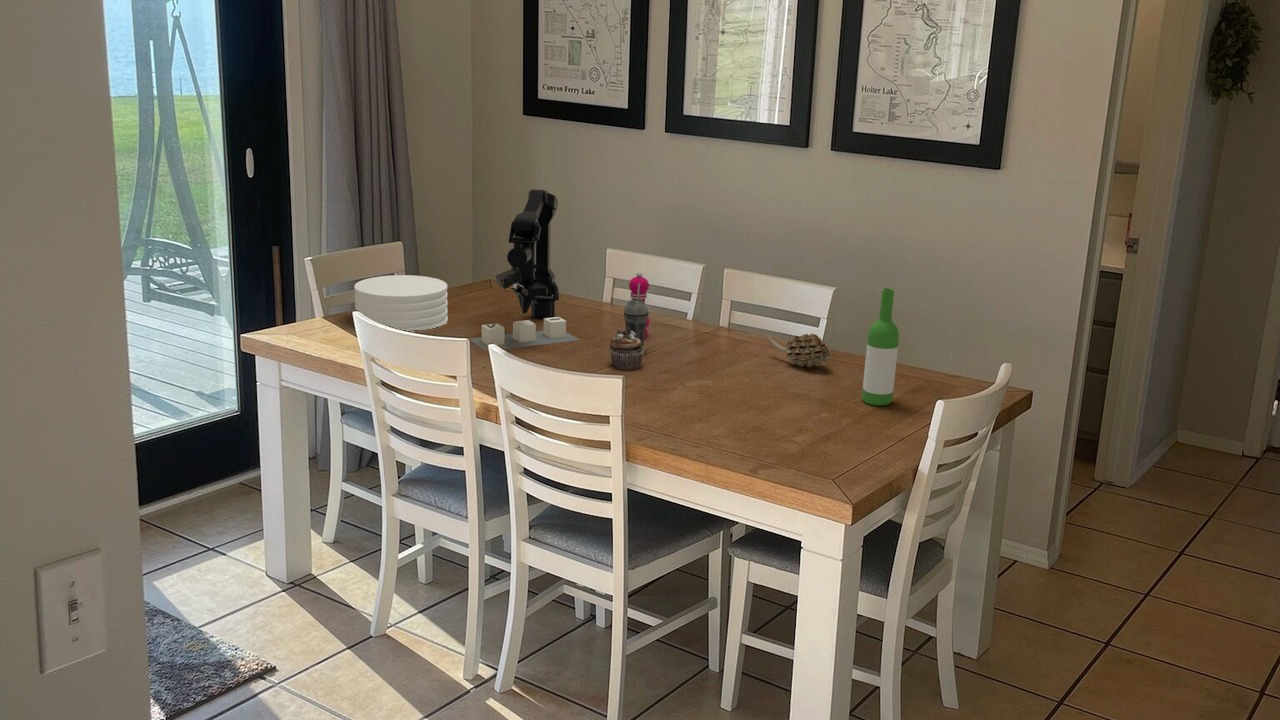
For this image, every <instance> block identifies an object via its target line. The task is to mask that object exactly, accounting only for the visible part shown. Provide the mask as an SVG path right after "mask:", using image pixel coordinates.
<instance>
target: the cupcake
mask: <svg viewBox="0 0 1280 720" xmlns="http://www.w3.org/2000/svg"><path fill="white" fill-rule="evenodd" d="M635 335H636V334H635V332H634V330H629V331H628V332H627V331H626V330H624V331H623V330H620V329H618V330H616V333H615V336H613V337H612V338H611V340H610V345H609V353H610V359H611V363H612V367H614V368H616V369H619V370H625V369H632V370H637V369H639V367H640V368H641V366H642V363H643V357H644V353H645V348H644V346H643V347H642V345H641V341H640V339H638V338H636V337H635ZM636 368H637V369H636Z"/></svg>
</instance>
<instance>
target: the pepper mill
mask: <svg viewBox="0 0 1280 720" xmlns="http://www.w3.org/2000/svg"><path fill="white" fill-rule="evenodd" d="M638 284H640V289H639V299H640V300H642V301H643V302H644V303H645V304H646V299H647V297H648V293H647V292H648V290H649V288H650V283H649V281H648V279H647V278H646V277H643V273H642V272H641V271H638V272H636V276H634V277H632V278H631V279H630V281H629V283H628V287H629V290H630V295H629V297H630V298H631V300H633V299H637V292H638ZM649 317H650V316H648V318H647V321H646V328H645V336H644V339H646V338H648V329H647V328H648V327H649V326H650V318H649Z"/></svg>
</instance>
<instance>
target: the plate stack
mask: <svg viewBox="0 0 1280 720" xmlns="http://www.w3.org/2000/svg"><path fill="white" fill-rule="evenodd" d="M353 287H354V292H355V293H354V300H355V302H354V307H355V310H358V311H360V312H361V313H362V314H363V315H364V316H366V317H368V318H370V319H372V320H374V321H376V322H379V323H381V324H384V325H387V326H391V327H394V328H397V329H401V330H406V331H411V332H410V333H416V332H415V331H413V330H427V329H432V328H436V327H439V326H442V325H444V324H445V325H447V324H448V322H447V321H449V317H448V314H449V313H448V305H449V304H448V297H449V296H448V283H446V281H444V280H441V279H439V278H434V277H432V276H431V277H430V276H424V275H411V274H405V275H404V274H402V275H401V274H396V275H381V276H374V277H370V278H364V279H362V280H359V281H358V282H356V283H355V284H354V286H353ZM445 325H444V326H445ZM442 327H443V326H442ZM439 328H440V327H439ZM436 329H437V328H436ZM432 330H433V329H432Z"/></svg>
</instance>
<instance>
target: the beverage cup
mask: <svg viewBox="0 0 1280 720" xmlns="http://www.w3.org/2000/svg"><path fill="white" fill-rule="evenodd" d="M639 289H640V284H638V292H637V299H633V300H632V299H630V300H629V301H627V302H626V304H625V306H624V310H623V318H624V321H625V322H624V324H625V331H627V332H628V331H629V330H634V332H635V334H636V335H635V337H636V338H638V339H640V341H641V345H642V347H643V348H644V342H645V338H644V336H645V328H646V321H647V318H648V317H649V313H650V312H649V308H648V305H647V304H646V302H645V303H644V302H643V301H642V300H640V299H639ZM646 329H647V328H646Z"/></svg>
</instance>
